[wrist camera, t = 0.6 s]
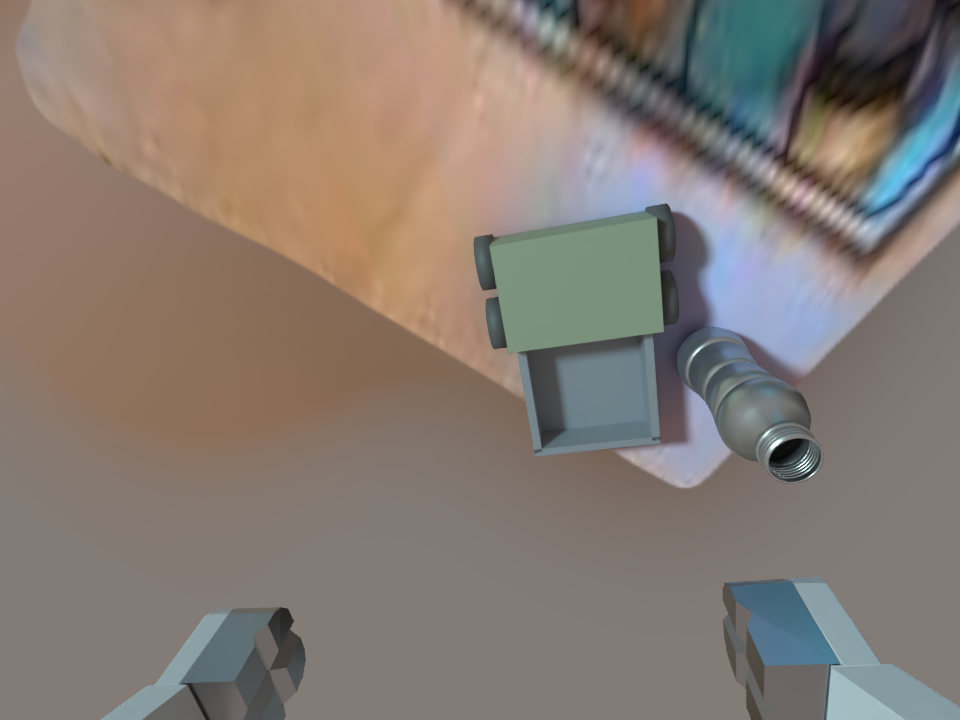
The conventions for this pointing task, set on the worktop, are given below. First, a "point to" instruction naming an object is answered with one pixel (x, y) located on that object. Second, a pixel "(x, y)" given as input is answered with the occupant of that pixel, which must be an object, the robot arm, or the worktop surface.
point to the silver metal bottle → (750, 405)
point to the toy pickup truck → (584, 324)
